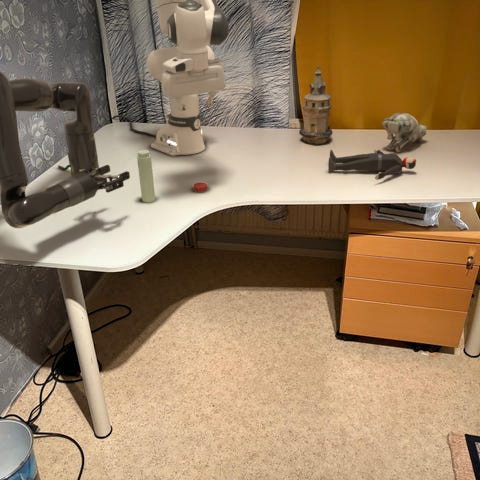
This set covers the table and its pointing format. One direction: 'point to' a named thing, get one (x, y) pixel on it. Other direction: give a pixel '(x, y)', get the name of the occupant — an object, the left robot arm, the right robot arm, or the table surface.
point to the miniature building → (316, 112)
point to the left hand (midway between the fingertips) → (118, 171)
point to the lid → (200, 187)
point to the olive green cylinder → (146, 176)
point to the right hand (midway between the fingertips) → (195, 108)
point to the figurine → (403, 130)
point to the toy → (371, 163)
